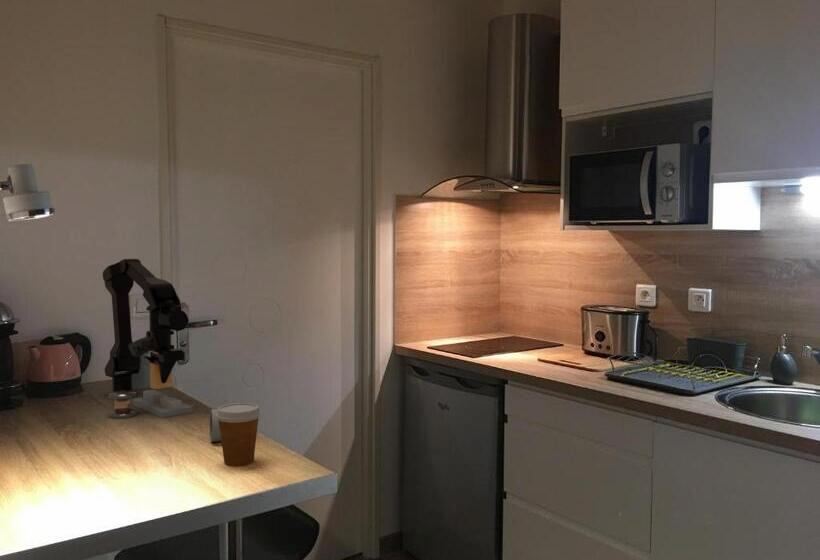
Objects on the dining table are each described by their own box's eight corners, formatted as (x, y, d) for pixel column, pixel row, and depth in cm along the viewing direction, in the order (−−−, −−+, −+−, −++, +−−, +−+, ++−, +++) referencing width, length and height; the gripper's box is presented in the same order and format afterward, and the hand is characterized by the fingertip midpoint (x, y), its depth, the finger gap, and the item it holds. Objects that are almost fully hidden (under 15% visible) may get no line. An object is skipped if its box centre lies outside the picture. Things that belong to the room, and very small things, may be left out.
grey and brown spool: (105, 414, 192) (104, 393, 192) (130, 410, 197) (130, 389, 196) (114, 419, 187) (114, 397, 186) (140, 415, 192) (140, 393, 191)
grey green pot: (152, 381, 234) (151, 346, 233) (163, 387, 226) (163, 350, 225) (121, 386, 227) (120, 349, 226) (131, 391, 220) (131, 353, 219)
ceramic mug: (247, 442, 168) (247, 410, 167) (212, 446, 165) (211, 413, 164) (240, 431, 177) (240, 401, 177) (207, 434, 174) (206, 404, 174)
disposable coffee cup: (213, 458, 156) (212, 404, 155) (255, 452, 160) (255, 400, 159) (220, 471, 147) (219, 415, 146) (265, 465, 151) (265, 410, 150)
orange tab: (150, 387, 198) (149, 362, 198) (167, 384, 202) (167, 360, 201) (154, 389, 196) (154, 364, 196) (172, 386, 199) (171, 362, 199)
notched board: (132, 404, 204) (132, 392, 203) (162, 399, 210) (162, 387, 209) (161, 417, 189) (161, 405, 189) (192, 412, 195) (192, 399, 195)
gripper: (118, 326, 199) (120, 380, 200) (145, 333, 185) (146, 392, 187) (157, 323, 207) (158, 375, 208) (185, 330, 193) (186, 385, 194)
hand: (161, 381), depth 199 cm, fingers closed on orange tab, 3 cm apart
